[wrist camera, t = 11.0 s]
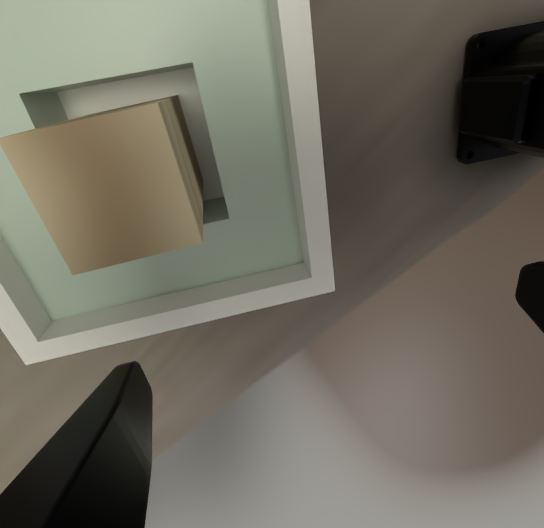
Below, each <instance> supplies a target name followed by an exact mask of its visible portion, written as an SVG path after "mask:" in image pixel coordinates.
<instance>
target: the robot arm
mask: <svg viewBox="0 0 544 528" xmlns="http://www.w3.org/2000/svg"><path fill="white" fill-rule="evenodd" d="M479 40H480V41H481V46H480V48H479V49H478V48H477V44H478V41H479ZM468 151H469V155H468V157H467V158H466V153H467V152H468ZM516 153H525V154H529V155H534V156H539V157H543V158H544V21H542V22H537V23H531V24H526V25H521V26H515V27H510V28H505V29H499V30H494V31H488V32H483V33H478V34H475V35H474V36H473V37H471V39H470V40H469V42H468V46H467V56H466V67H465V78H464V83H463V92H462V102H461V113H460V124H459V142H458V152H457V159H458V161H459V162H461V163H465V164H470V163H475V162H480V161H484V160H489V159H493V158H498V157H503V156H507V155H512V154H516ZM515 296H516V300H517V302H518V304H519V305H520V307H521V308H522V309H523V310H524V311H525V312H526V314H527V315H528V316H529V317H530V318H531V319H532V321H533V322H534V323H535V324H536V325H537V326H538V327H539V329H540V330H541V331H542V332H543V333H544V261H541V262H535V263H531V264H527V265H525V266H523V267H522V269H521V271H520V274H519V279H518V284H517V288H516V294H515ZM151 466H152V390H151V387H150V385H149V383H148V381H147V378H146V376H145V374H144V372H143V370H142V368H141V366H140V364H139V363H138V362H136V361H132V362H128V363H124V364H120V365H118V366H116V367H115V368H114V369H113V370H112V371H111V372H110V374H109V375H108V376H107V377H106V378H105V379H104V380H103V381H102V382H101V384H100V385H99V386H98V387H97V388H96V389H95V390H94V391H93V392H92V394H91V395H90V396H89V397H88V398H87V399H86V400H85V401H84V402H83V403H82V405H81V406H80V407H79V408H78V409H77V410H76V411H75V412H74V413H73V415H72V416H71V417H70V418H69V419H68V420H67V421H66V422H65V423H64V425H63V426H62V427H61V428H60V429H59V430H58V431H57V432H56V433H55V434H54V436H53V437H52V438H51V439H50V440H49V441H48V442H47V443H46V444H45V446H44V447H43V448H42V449H41V450H40V451H39V452H38V453H37V454H36V456H35V457H34V458H33V459H32V460H31V461H30V462H29V463H28V464H27V465H26V467H25V468H24V469H23V470H22V471H21V472H20V473H19V474H18V475H17V477H16V478H15V479H14V480H13V481H12V482H11V483H10V484H9V485H8V487H7V488H6V489H5V490H4V491H3V492H2V493H1V494H0V528H144V527H145V519H146V510H147V503H148V494H149V487H150V478H151Z"/></svg>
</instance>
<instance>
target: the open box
mask: <svg viewBox="0 0 544 528" xmlns="http://www.w3.org/2000/svg"><path fill="white" fill-rule="evenodd" d="M175 95H178V96H179V100H180V103H181V107H182V110H183V114H184V117H185V120H186V124H187V127H188V131H189V134H190V137H191V141H192V144H193V148H194V151H195V154H196V158H197V161H198V165H199V168H200V171H201V175H202V178H203V243H201V244H197V245H193V246H189V247H185V248H181V249H177V250H173V251H169V252H165V253H161V254H157V255H153V256H149V257H145V258H141V259H137V260H133V261H129V262H125V263H121V264H117V265H113V266H109V267H105V268H101V269H97V270H93V271H89V272H85V273H81V274H77V275H72V273H71V272H70V270H69V268H68V266H67V264H66V263H65V261H64V259H63V257H62V255H61V254H60V252H59V250H58V248H57V246H56V245H55V243H54V241H53V239H52V237H51V236H50V234H49V232H48V230H47V228H46V227H45V225H44V223H43V221H42V219H41V218H40V216H39V214H38V212H37V210H36V209H35V207H34V205H33V203H32V201H31V200H30V198H29V196H28V194H27V192H26V191H25V189H24V187H23V185H22V183H21V182H20V180H19V178H18V176H17V174H16V173H15V171H14V169H13V167H12V165H11V164H10V162H9V160H8V158H7V156H6V154H5V153H4V151H3V149H2V147H1V145H0V329H1V330H2V331H3V333H4V334H5V336H6V337H7V339H8V340H9V342H10V343H11V344H12V346H13V347H14V349H15V350H16V352H17V353H18V355H19V356H20V357H21V359H22V360H23V362H24V363H25V365H28V364H32V363H37V362H41V361H45V360H49V359H53V358H57V357H62V356H66V355H70V354H74V353H78V352H82V351H87V350H91V349H95V348H99V347H103V346H108V345H112V344H116V343H120V342H124V341H128V340H133V339H137V338H141V337H145V336H149V335H153V334H158V333H162V332H166V331H170V330H174V329H178V328H183V327H187V326H191V325H195V324H199V323H203V322H208V321H212V320H216V319H220V318H224V317H228V316H233V315H237V314H241V313H245V312H249V311H253V310H258V309H262V308H266V307H270V306H274V305H278V304H283V303H287V302H291V301H295V300H299V299H303V298H308V297H312V296H316V295H320V294H324V293H329V292H333V291H335V284H334V273H333V261H332V250H331V239H330V228H329V217H328V205H327V194H326V183H325V172H324V161H323V150H322V138H321V127H320V116H319V105H318V94H317V82H316V71H315V60H314V49H313V38H312V27H311V15H310V4H309V0H0V138H1V137H5V136H9V135H13V134H17V133H20V132H24V131H28V130H32V129H36V128H40V127H43V126H47V125H51V124H55V123H59V122H63V121H66V120H70V119H74V118H78V117H82V116H86V115H89V114H94V113H98V112H103V111H107V110H112V109H116V108H121V107H125V106H130V105H134V104H139V103H143V102H148V101H152V100H157V99H161V98H166V97H170V96H175Z"/></svg>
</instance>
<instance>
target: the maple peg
mask: <svg viewBox="0 0 544 528" xmlns="http://www.w3.org/2000/svg"><path fill="white" fill-rule="evenodd" d="M0 145H1V147H2V149H3V151H4V153H5V154H6V156H7V158H8V160H9V162H10V164H11V165H12V167H13V169H14V171H15V173H16V174H17V176H18V178H19V180H20V182H21V183H22V185H23V187H24V189H25V191H26V192H27V194H28V196H29V198H30V200H31V201H32V203H33V205H34V207H35V209H36V210H37V212H38V214H39V216H40V218H41V219H42V221H43V223H44V225H45V227H46V228H47V230H48V232H49V234H50V236H51V237H52V239H53V241H54V243H55V245H56V246H57V248H58V250H59V252H60V254H61V255H62V257H63V259H64V261H65V263H66V264H67V266H68V268H69V270H70V272H71V273H72V275H77V274H81V273H85V272H89V271H93V270H97V269H101V268H105V267H109V266H113V265H117V264H121V263H125V262H129V261H133V260H137V259H141V258H145V257H149V256H153V255H157V254H161V253H165V252H169V251H173V250H177V249H181V248H185V247H189V246H193V245H197V244H201V243H203V178H202V175H201V171H200V168H199V165H198V161H197V158H196V154H195V151H194V148H193V144H192V141H191V137H190V134H189V131H188V127H187V124H186V120H185V117H184V114H183V110H182V107H181V103H180V100H179V96H178V95H175V96H170V97H166V98H161V99H157V100H152V101H148V102H143V103H139V104H134V105H130V106H125V107H121V108H116V109H112V110H107V111H103V112H98V113H94V114H89V115H86V116H82V117H78V118H74V119H70V120H66V121H63V122H59V123H55V124H51V125H47V126H43V127H40V128H36V129H32V130H28V131H24V132H20V133H17V134H13V135H9V136H5V137H1V138H0Z"/></svg>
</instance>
